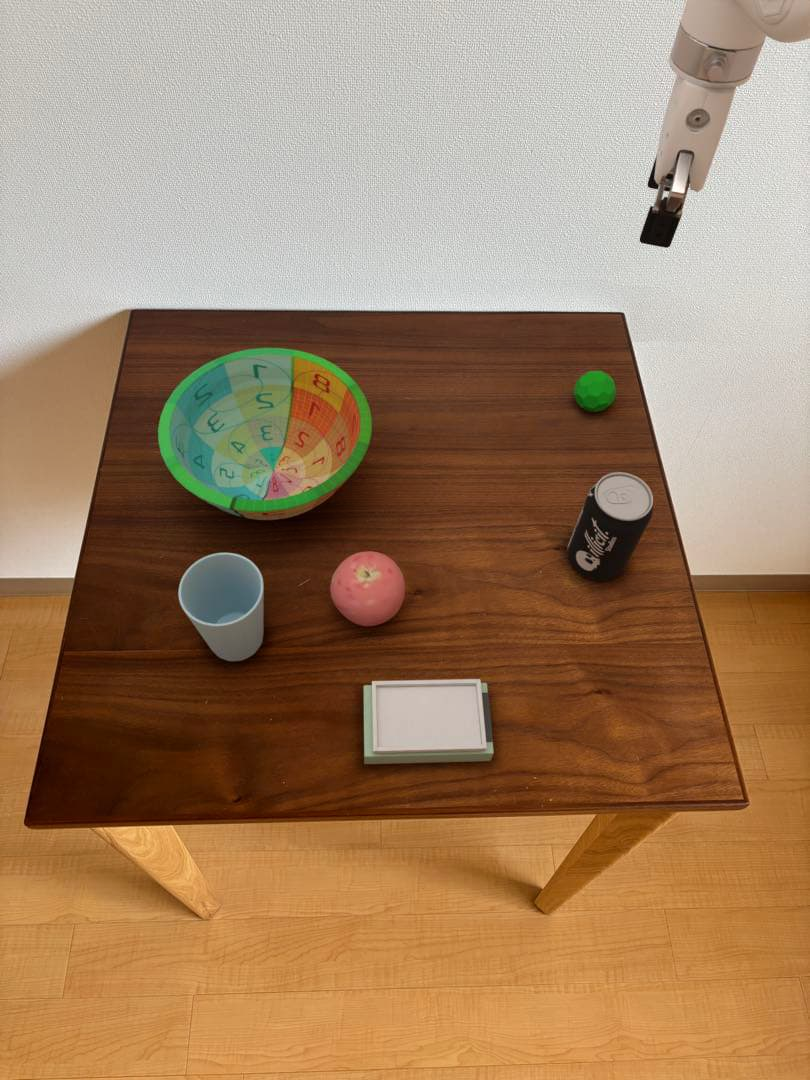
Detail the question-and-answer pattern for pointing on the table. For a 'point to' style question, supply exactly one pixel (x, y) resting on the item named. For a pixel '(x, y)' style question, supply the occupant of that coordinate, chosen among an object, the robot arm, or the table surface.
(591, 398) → the polyhedron
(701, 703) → the table surface
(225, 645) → the cup
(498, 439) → the table surface
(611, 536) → the beverage can
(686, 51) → the robot arm
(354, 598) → the apple
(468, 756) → the scale
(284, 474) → the bowl
